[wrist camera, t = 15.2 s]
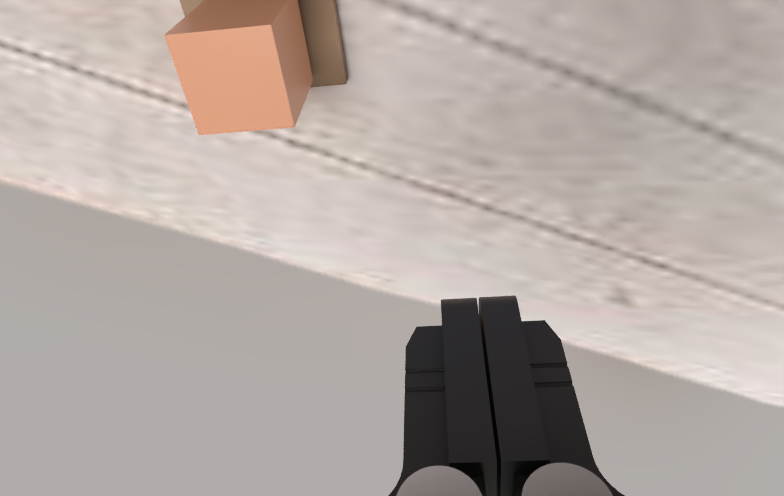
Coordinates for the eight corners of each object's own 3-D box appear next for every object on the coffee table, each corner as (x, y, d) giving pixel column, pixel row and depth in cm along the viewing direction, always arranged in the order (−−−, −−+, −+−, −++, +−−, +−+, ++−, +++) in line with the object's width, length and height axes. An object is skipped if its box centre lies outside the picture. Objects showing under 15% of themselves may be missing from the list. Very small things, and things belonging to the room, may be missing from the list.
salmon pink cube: (206, -1, 31) (164, 35, 26) (295, -11, 31) (270, 24, 26) (231, 87, 35) (198, 134, 29) (313, 79, 34) (294, 127, 29)
